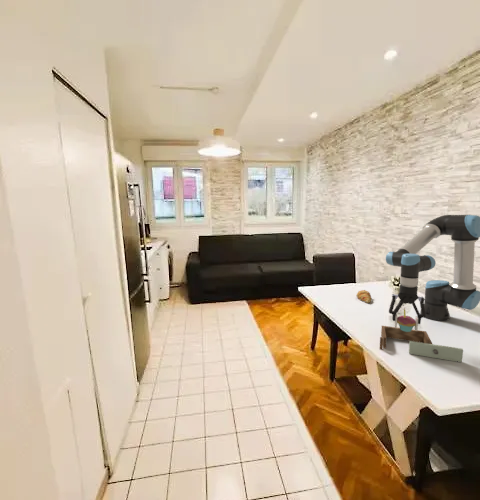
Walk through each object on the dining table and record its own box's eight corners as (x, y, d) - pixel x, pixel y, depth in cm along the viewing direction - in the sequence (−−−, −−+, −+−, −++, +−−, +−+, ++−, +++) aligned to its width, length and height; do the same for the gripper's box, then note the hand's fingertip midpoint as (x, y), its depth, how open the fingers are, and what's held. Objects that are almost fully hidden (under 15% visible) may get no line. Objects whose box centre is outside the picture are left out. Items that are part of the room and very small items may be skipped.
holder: (425, 342, 139) (426, 331, 138) (432, 357, 125) (433, 345, 124) (377, 335, 148) (378, 325, 147) (379, 349, 134) (380, 338, 133)
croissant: (372, 308, 195) (378, 299, 193) (359, 302, 195) (365, 293, 193) (362, 298, 216) (367, 289, 214) (351, 292, 216) (356, 284, 214)
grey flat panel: (461, 360, 122) (462, 348, 121) (463, 363, 119) (464, 351, 118) (408, 352, 130) (409, 340, 129) (409, 355, 127) (410, 343, 127)
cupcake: (408, 335, 130) (410, 311, 128) (392, 328, 137) (393, 306, 135) (419, 331, 134) (420, 308, 132) (402, 324, 141) (403, 303, 139)
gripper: (432, 284, 131) (428, 328, 134) (383, 281, 139) (381, 322, 143) (436, 289, 124) (432, 334, 128) (385, 285, 133) (382, 328, 136)
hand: (405, 328), depth 135 cm, fingers closed on cupcake, 8 cm apart
